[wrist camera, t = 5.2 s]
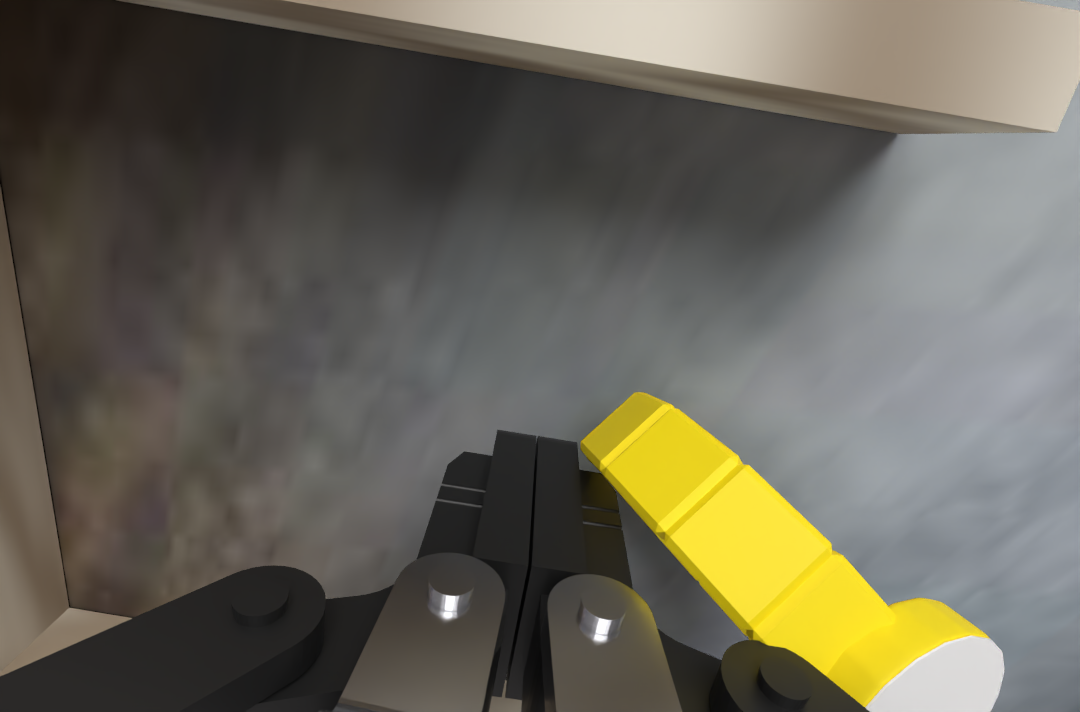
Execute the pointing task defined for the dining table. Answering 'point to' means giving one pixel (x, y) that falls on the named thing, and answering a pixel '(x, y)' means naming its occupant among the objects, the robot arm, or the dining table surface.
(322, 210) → the dining table surface
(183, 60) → the dining table surface
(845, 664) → the watch
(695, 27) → the open wooden frame
